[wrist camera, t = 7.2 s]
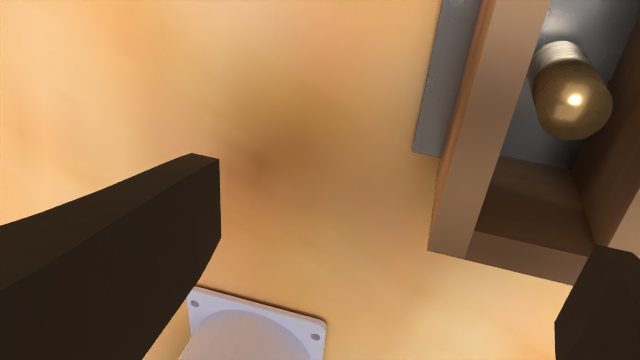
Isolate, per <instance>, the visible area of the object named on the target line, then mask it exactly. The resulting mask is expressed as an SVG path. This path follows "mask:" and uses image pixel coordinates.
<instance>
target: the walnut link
mask: <svg viewBox="0 0 640 360" xmlns="http://www.w3.org/2000/svg"><path fill="white" fill-rule="evenodd" d="M550 3H551V0H482V2H481V6H480V10H479V13H478V17H477V21H476V25H475V29H474V33H473V36H472V40H471V44H470V48H469V52H468V56H467V59H466V63H465V67H464V71H463V75H462V79H461V82H460V86H459V90H458V94H457V98H456V101H455V105H454V109H453V113H452V117H451V121H450V124H449V128H448V132H447V136H446V140H445V144H444V147H443V151H442V155H441V159H440V163H439V167H438V172H437V179H436V187H435V195H434V202H433V210H432V217H431V225H430V232H429V240H428V247H427V251H431V252H435V253H440V254H444V255H448V256H452V257H456V258H460V259H464V260H469V261H473V262H477V263H481V264H485V265H489V266H493V267H497V268H502V269H506V270H510V271H514V272H518V273H522V274H526V275H531V276H535V277H539V278H543V279H547V280H551V281H555V282H559V283H564V284H568V285H572V286H574V284H575V282H576V280H577V278H578V276H579V275H580V273H581V271H582V269H583V267H584V265H585V263H586V261H587V259H588V257H589V255H590V253H591V252H592V250H593V248H594V246H595V244H597V245H602V246H606V247H611V248H615V249H619V250H624V251H628V252H632V253H634V254H635V255H636V256H637V257H638V258H639V259H640V14H639V16H638V19H637V21H636V23H635V25H634V28H633V30H632V32H631V35H630V37H629V39H628V41H627V44H626V46H625V48H624V50H623V53H622V55H621V57H620V60H619V62H618V64H617V66H616V69H615V71H614V73H613V76H612V78H611V80H610V82H609V85H608V87H607V89H608V90H609V92H610V94H611V97H612V101H613V108H612V113H611V115H610V117H609V119H608V121H607V122H606V124H605V125H604V126H603V127H602V128H601V129H600V130H599V131H597V132H596V133H594V134H592V135H590V136H588V137H586V138H585V139H584V142H583V144H582V146H581V148H580V151H579V153H578V155H577V157H576V160H575V162H574V164H573V167H572V169H571V170H570V169H566V168H561V167H556V166H551V165H546V164H541V163H536V162H531V161H526V160H521V159H516V158H511V157H506V156H501V155H499V154H500V151H501V148H502V145H503V142H504V139H505V136H506V133H507V130H508V127H509V124H510V121H511V118H512V115H513V113H514V110H515V107H516V104H517V101H518V98H519V95H520V92H521V89H522V86H523V83H524V80H525V77H526V74H527V71H528V68H529V65H530V62H531V59H532V56H533V53H534V50H535V47H536V44H537V41H538V38H539V35H540V32H541V29H542V26H543V23H544V20H545V17H546V14H547V11H548V9H549V6H550Z"/></svg>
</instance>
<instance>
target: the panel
mask: <svg viewBox="0 0 640 360" xmlns="http://www.w3.org/2000/svg"><path fill="white" fill-rule="evenodd" d="M481 2H482V0H443V3H442V8H441V12H440V17H439V22H438V27H437V32H436V37H435V42H434V47H433V51H432V56H431V61H430V66H429V71H428V76H427V81H426V86H425V90H424V95H423V100H422V105H421V110H420V115H419V120H418V125H417V130H416V134H415V139H414V144H413V149H412V152H416V153H421V154H426V155H431V156H436V157H441V155H442V151H443V147H444V144H445V140H446V136H447V132H448V128H449V124H450V121H451V117H452V113H453V109H454V105H455V101H456V98H457V94H458V90H459V86H460V82H461V79H462V75H463V71H464V67H465V63H466V59H467V56H468V52H469V48H470V44H471V40H472V36H473V33H474V29H475V25H476V21H477V17H478V13H479V10H480V6H481ZM639 14H640V0H551V3H550V6H549V9H548V11H547V14H546V17H545V20H544V23H543V26H542V29H541V32H540V35H539V38H538V41H537V44H536V47H535V50H534V53H533V56H532V59H531V62H530V65H529V68H528V71H527V74H526V77H525V80H524V83H523V86H522V89H521V92H520V95H519V98H518V101H517V104H516V107H515V110H514V113H513V115H512V118H511V121H510V124H509V127H508V130H507V133H506V136H505V139H504V142H503V145H502V148H501V151H500V154H499V155H501V156H506V157H511V158H516V159H521V160H526V161H531V162H536V163H541V164H546V165H551V166H556V167H561V168H566V169H570V170H571V169H572V167H573V164H574V162H575V160H576V157H577V155H578V153H579V151H580V148H581V146H582V144H583V142H584V139H585V138H586V137H588V136H590V135H592V134H594V133H596V132H597V131H599V130H600V129H601V128H602V127H603V126H604V125H605V124H606V122H607V121H608V119H609V117H610V115H611V113H612V108H613V101H612V97H611V94H610V92H609V90H608V89H607V87H608V85H609V82H610V80H611V78H612V76H613V73H614V71H615V69H616V66H617V64H618V62H619V60H620V57H621V55H622V53H623V50H624V48H625V46H626V44H627V41H628V39H629V37H630V35H631V32H632V30H633V28H634V25H635V23H636V21H637V19H638V16H639Z"/></svg>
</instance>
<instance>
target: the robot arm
mask: <svg viewBox="0 0 640 360" xmlns="http://www.w3.org/2000/svg"><path fill="white" fill-rule="evenodd" d="M220 239H221V209H220V171H219V159H216V158H212V157H207V156H203V155H198V154H194V153H190V154H187V155H184V156H181V157H179V158H176V159H173V160H171V161H168V162H166V163H164V164H161V165H159V166H156V167H154V168H152V169H149V170H147V171H144V172H142V173H140V174H137V175H135V176H133V177H130V178H128V179H126V180H123V181H121V182H118V183H116V184H114V185H111V186H109V187H106V188H104V189H102V190H99V191H97V192H94V193H92V194H89V195H86V196H84V197H81V198H78V199H76V200H73V201H70V202H68V203H65V204H62V205H60V206H57V207H54V208H52V209H49V210H46V211H44V212H41V213H38V214H35V215H32V216H29V217H26V218H23V219H20V220H17V221H14V222H11V223H8V224H4V225H1V226H0V360H142V359H143V357H144V356H145V355H146V353H147V352H148V350H149V349H150V348H151V346H152V345H153V344H154V342H155V341H156V339H157V338H158V337H159V335H160V334H161V332H162V331H163V330H164V328H165V327H166V325H167V324H168V323H169V321H170V320H171V318H172V317H173V316H174V314H175V313H176V311H177V310H178V309H179V307H180V306H181V304H182V303H183V302H184V300H185V299H186V297H187V307H188V316H189V325H190V335H191V338H190V340H189V342H188V343H187V345H186V346H185V348H184V350H183V351H182V353H181V354H180V356H179V358H178V359H177V360H323V356H324V348H325V339H326V331H327V326H326V324H325V323H324V322H323V321H322V320H319V319H316V318H312V317H308V316H305V315H301V314H297V313H293V312H290V311H286V310H282V309H278V308H275V307H271V306H267V305H263V304H260V303H256V302H252V301H249V300H245V299H241V298H237V297H234V296H230V295H226V294H222V293H219V292H215V291H211V290H207V289H204V288H200V287H195V284H196V283H197V282H198V280H199V279H200V277H201V275H202V273H203V272H204V270H205V268H206V266H207V264H208V262H209V261H210V259H211V257H212V255H213V253H214V251H215V249H216V247H217V245H218V243H219V241H220ZM554 325H555V355H556V360H640V259H639V258H638V257H637V256H636V255H635V254H634V253H632V252H628V251H624V250H619V249H615V248H611V247H606V246H602V245H597V244H595V246H594V248H593V250H592V252H591V253H590V255H589V257H588V259H587V261H586V263H585V265H584V267H583V269H582V271H581V273H580V275H579V276H578V278H577V280H576V282H575V284H574V286H573V288H572V290H571V292H570V294H569V296H568V298H567V299H566V301H565V303H564V305H563V307H562V309H561V311H560V313H559V315H558V317H557V319H556V321H555V322H554Z"/></svg>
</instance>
